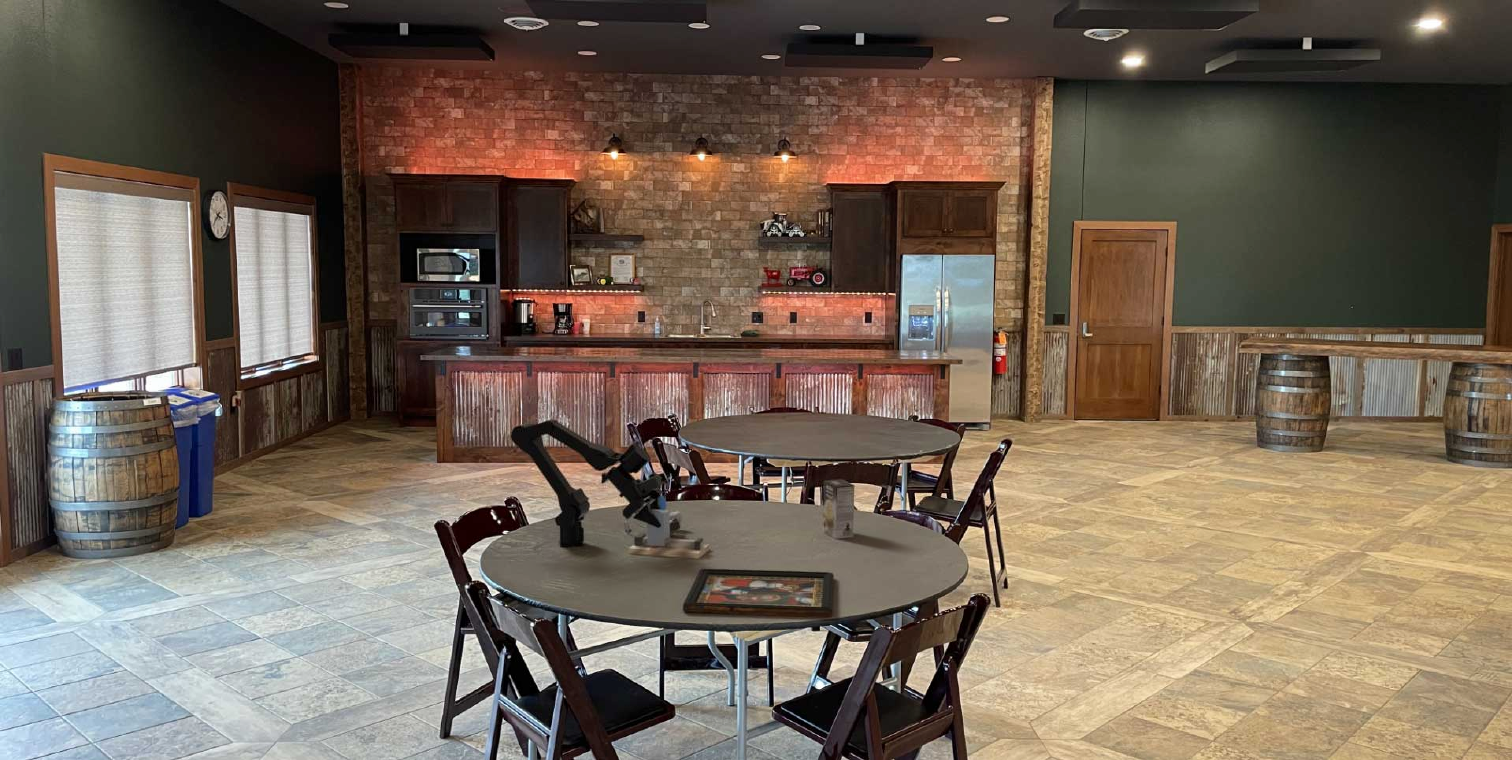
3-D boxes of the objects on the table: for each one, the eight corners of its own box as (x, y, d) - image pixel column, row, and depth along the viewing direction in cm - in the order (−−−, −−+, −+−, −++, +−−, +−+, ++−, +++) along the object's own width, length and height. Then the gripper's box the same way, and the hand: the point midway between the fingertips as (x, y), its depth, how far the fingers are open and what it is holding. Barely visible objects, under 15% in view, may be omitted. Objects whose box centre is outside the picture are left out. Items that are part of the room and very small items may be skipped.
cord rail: (628, 553, 297) (628, 539, 296) (641, 544, 307) (641, 530, 307) (698, 559, 292) (698, 544, 291) (709, 549, 302) (709, 535, 301)
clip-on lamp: (622, 546, 317) (681, 534, 315) (617, 526, 316) (676, 514, 314) (629, 532, 328) (685, 521, 327) (624, 513, 327) (680, 501, 326)
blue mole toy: (632, 513, 345) (632, 488, 344) (668, 514, 345) (668, 488, 344) (626, 522, 333) (626, 496, 332) (663, 523, 333) (663, 496, 332)
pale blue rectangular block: (647, 545, 298) (647, 512, 297) (653, 541, 303) (652, 508, 302) (664, 546, 297) (663, 513, 296) (669, 542, 302) (669, 510, 301)
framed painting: (831, 575, 278) (831, 565, 278) (847, 620, 243) (847, 607, 243) (686, 576, 277) (686, 566, 277) (682, 621, 242) (681, 608, 242)
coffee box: (822, 532, 322) (822, 480, 321) (840, 530, 325) (841, 478, 323) (835, 539, 314) (836, 485, 312) (854, 537, 316) (855, 484, 314)
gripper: (632, 471, 290) (671, 513, 288) (656, 459, 308) (692, 499, 306) (606, 498, 292) (644, 539, 291) (631, 484, 310) (666, 524, 309)
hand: (663, 524), depth 299 cm, fingers closed on pale blue rectangular block, 5 cm apart
